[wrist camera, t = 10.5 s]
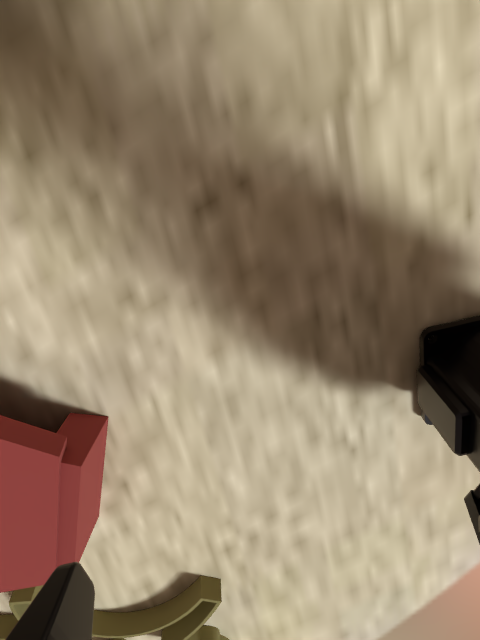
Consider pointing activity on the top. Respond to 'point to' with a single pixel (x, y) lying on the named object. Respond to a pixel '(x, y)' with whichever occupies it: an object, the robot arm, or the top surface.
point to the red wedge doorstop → (47, 495)
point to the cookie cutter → (143, 615)
